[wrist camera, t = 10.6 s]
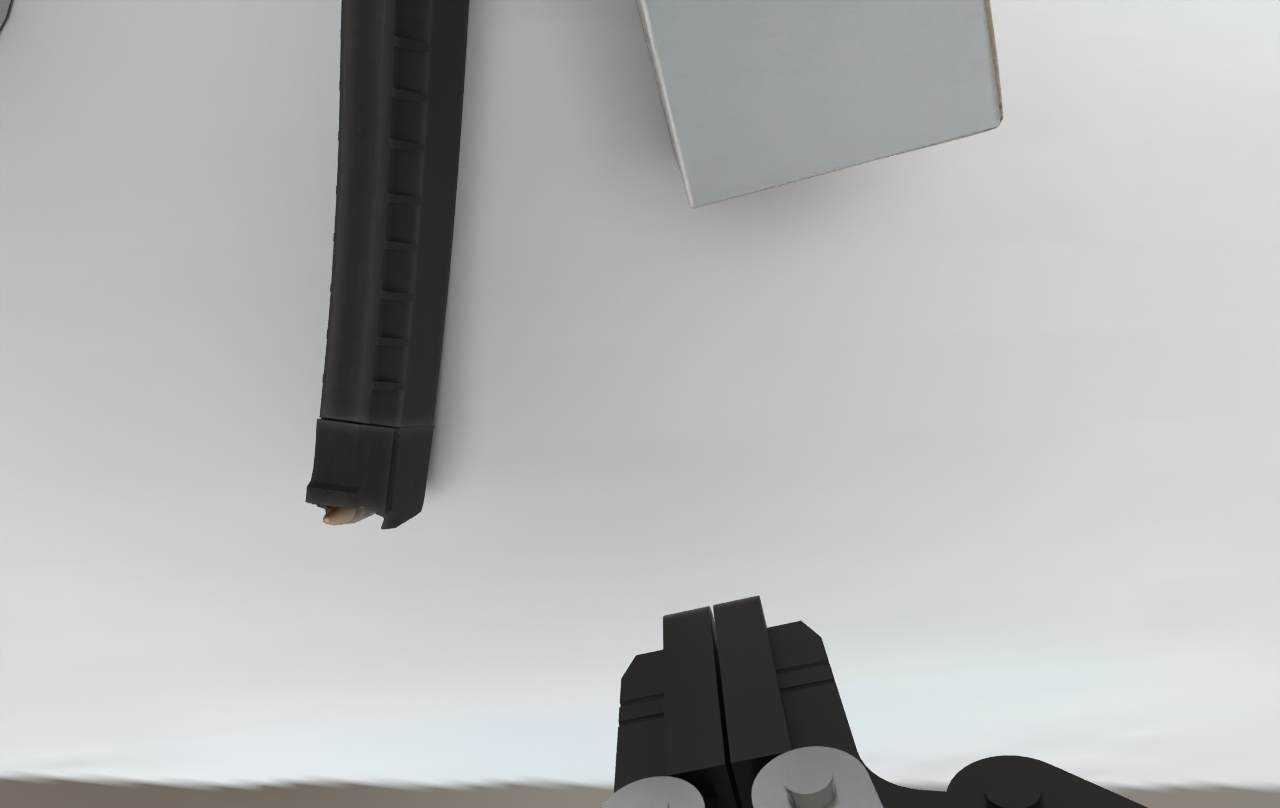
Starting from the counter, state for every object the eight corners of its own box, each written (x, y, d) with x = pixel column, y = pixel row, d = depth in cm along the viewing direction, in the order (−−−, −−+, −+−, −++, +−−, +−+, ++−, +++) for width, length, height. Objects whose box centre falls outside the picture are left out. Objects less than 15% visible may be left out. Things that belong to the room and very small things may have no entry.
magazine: (328, -446, 26) (194, 578, 26) (441, -429, 26) (305, 593, 26) (445, -114, 43) (362, 504, 43) (512, -103, 43) (430, 513, 43)
